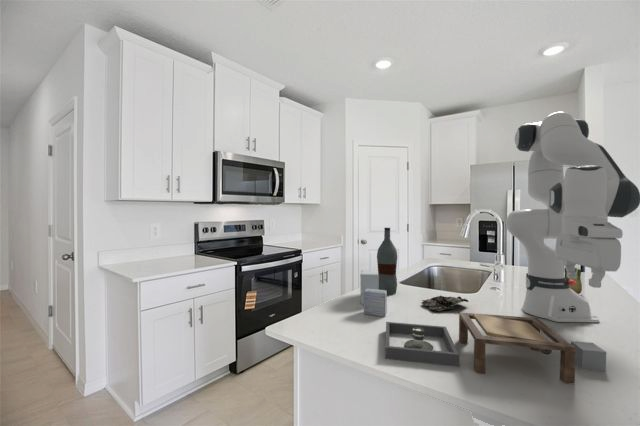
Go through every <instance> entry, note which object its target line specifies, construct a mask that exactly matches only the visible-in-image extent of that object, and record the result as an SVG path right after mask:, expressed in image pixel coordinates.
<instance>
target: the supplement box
mask: <svg viewBox="0 0 640 426" xmlns="http://www.w3.org/2000/svg"><path fill="white" fill-rule="evenodd" d="M359 276H360V305H364V291H365V290H366V289H377V290H379V275H378V270H360V275H359Z"/></svg>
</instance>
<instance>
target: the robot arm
mask: <svg viewBox="0 0 640 426" xmlns="http://www.w3.org/2000/svg"><path fill="white" fill-rule="evenodd" d="M589 135H590V129H589V124H588V122H587V121H586V120H584V119H577V118H574V117H573V115H572V114H570V113H569V112H566V111H565V112H564V111H557V112H553V113H551V114H549V115H547V116H546V117H545V118H543V120H542V121H537V122H533V123H531V122H528V123H525V124H521V125H520V126H519V127H518V128H517V131H516V132H515V135H514V143H515V146H516V148H517V149H518V150H519V151H521V152H532V153H531V154H530V157H529V162H528V163H529V164H528V169H527V170H528V171H527V186H528V188H527V189H528V190H527V191H528V195H529V196H530V198H532V199H533V200H535V201H537V202H539V203H542V204H544V206H546V208H545V209H544V208H543V209H540V208H537V209H536V208H529V209H528V208H525V209H518V210H512V211H511V212H510V213H509V214H508V215H507V217H506V221H505V226H506V230H507V231H508V232H509V234H510V235H512V236H513V237H514V238H516V239H517V240H518V241H519V242H520V244H521V245H522V247H523V248H524V250H525V253H526V258H527V259H526V260H527V262H526V263H527V273H526V274H525V288H526V291H525V297H524V301H523V304H522V307H521V310H522V311H523V312H525V313H526V314H529V315H531V316H534V317H538V318H543V319H546V320H549V321H553V322H556V323H557V322H558V323H600V318H599V317H598V316H597V315H595V314H594V313H593V312H591V307H590V304H589V302H588V301H587V299H585V298H584V297H583V296H581V295H580V294H577V293H576V292H575V291H573V290H572V289H571V288H570V286H569V285H571V286H576V285H577V282H576V281H574V280H569V279H567V278H565V268H566V271H567V277H568V278H570V279H577V272H576V271H575V268H576V267H575V266H576V265H579V266H582V267H586V268H589V269H590V270H591V271H590V273H592V274H591V277H590V278H588V285H589V286H590V287H592V288H594V289H595V288H597V289H600V288H601V287H602V281H603V279H604V277H605V276H606V272H612V273H613V272H617V271H618V270H619V269H620V267H621V262H622V261H621V260H622V245H621V242H620V240H619V239H622V238H623V235H624V233H623V230H622V229H621V227H620V228H619V227H617V226H616V225H614V224H612V223H611V222H610V221H609V218H610V217H611V218H620V219H621V218H622V219H623V218H624V217H626V216H628V215H630V214H631V213H633V212H634V211H636V210H637V209H638V208H639V207H640V190H639V188H638V186H637V185H636V184H635V183H634V182H633V181H631V180H630V179H629V178H628V177H627V176H626V175H625V174H624V173H623V171H622V170H621V169H620V167H619V166H618V165H617V163H616V162H615V160H614V159H613V158H612V156H611V154H610V153H609V152H608V151H607V149H606V148H604V146H603V145H601V144H599V143H596V142H594V141H592V140H590V139H589ZM564 166H570V167H567V168H566V169H565V173H564ZM608 217H609V218H608ZM547 239H551V240H556V242H555V249H554V248H553V247H550V246H548V245H546V243H545V240H547Z"/></svg>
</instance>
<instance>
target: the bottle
mask: <svg viewBox="0 0 640 426" xmlns="http://www.w3.org/2000/svg"><path fill="white" fill-rule="evenodd" d="M383 229H384V233H383V235H384V238H383V239H384V240H383V241H382V242H381V244H380V245H379V247H378V249H377V251H376V260H377V261H376V262H377V271H378V275H379V290H386V291H387V296H392V295H395V294H396V293H397V290H398V278H397V267H398V266H397V265H398V252H397V247H396V246H395V244H394V243H393V242H392V240H391V227H384V228H383Z"/></svg>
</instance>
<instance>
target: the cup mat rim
mask: <svg viewBox="0 0 640 426" xmlns="http://www.w3.org/2000/svg"><path fill="white" fill-rule="evenodd" d="M414 327H419V328H422V329H424V332H425V334H424V337H433V338H442V339H443V341H444V344H445V346H446V349H447V351H443V350H442V351H441V350H434V349H433V350H424V349H414V348H407V347H405V346H404V347H403V346H393V345H391V344H390V333H392V334H399V335H400V334H402V335H411V336H413V333H412V330H413V328H414ZM385 359H387V360H398V361H405V362H412V363H413V362H414V363H415V362H416V363H421V364H423V363H424V364H431V365H441V366H452V367H460V365H459V364H460V354H459V352H458V350H457V348H456V345H455V344H454V341H453V339H452V337H451V334H450V333H449V331H448V328H447V327H446V326H440V325H428V324H426V325H425V324H418V323H406V322H395V321H392V322H391V321H386V322H385Z"/></svg>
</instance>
